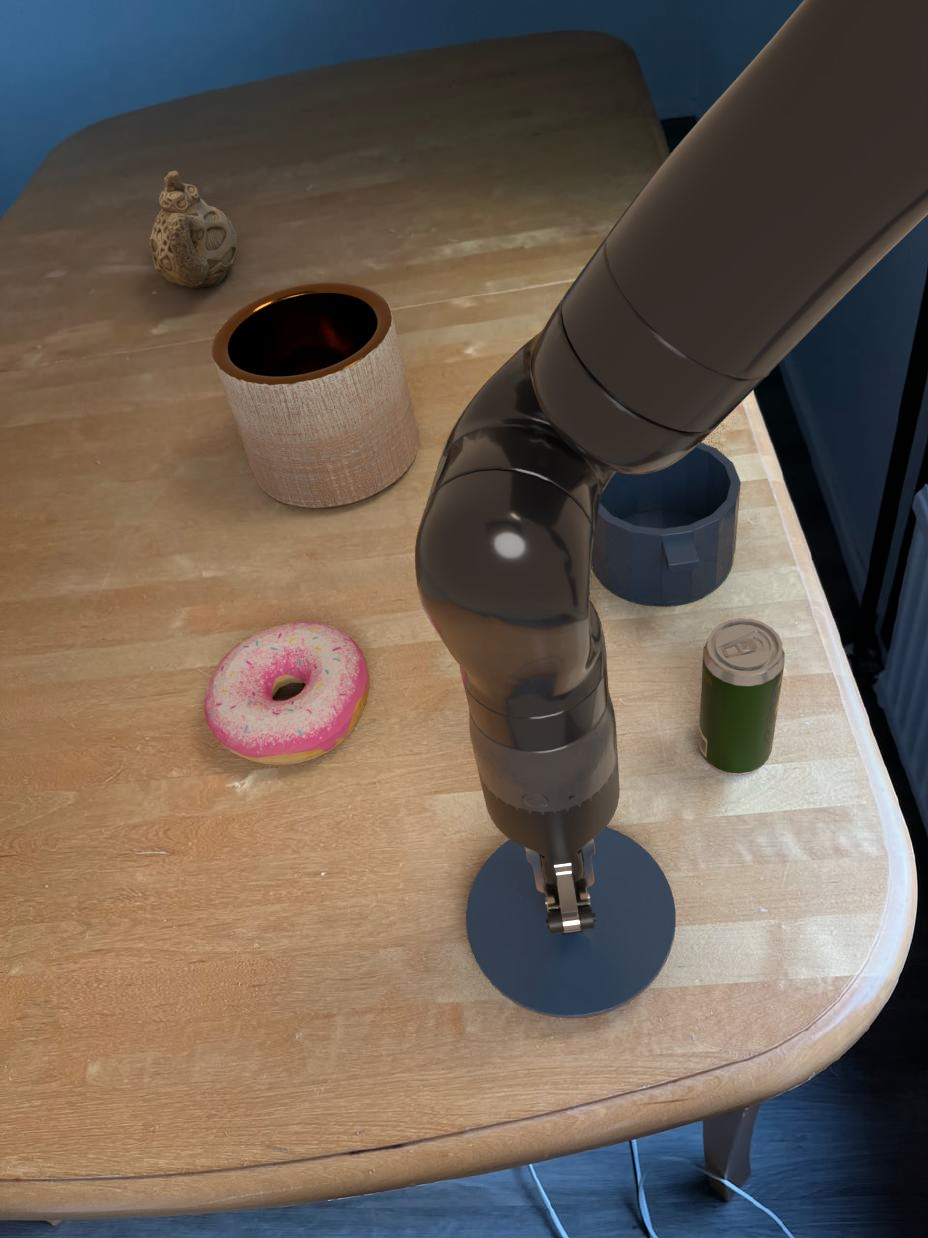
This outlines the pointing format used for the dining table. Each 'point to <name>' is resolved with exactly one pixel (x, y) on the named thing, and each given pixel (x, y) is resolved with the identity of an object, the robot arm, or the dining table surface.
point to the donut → (297, 723)
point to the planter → (318, 393)
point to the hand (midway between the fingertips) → (567, 901)
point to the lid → (580, 962)
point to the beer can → (740, 695)
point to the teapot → (191, 237)
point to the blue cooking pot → (669, 530)
